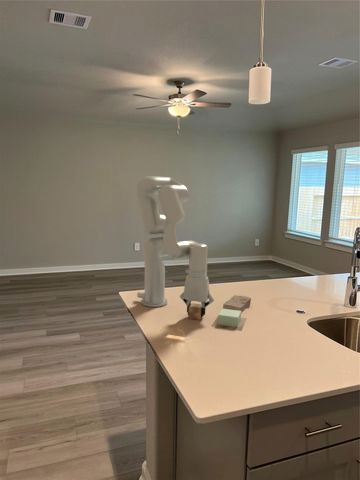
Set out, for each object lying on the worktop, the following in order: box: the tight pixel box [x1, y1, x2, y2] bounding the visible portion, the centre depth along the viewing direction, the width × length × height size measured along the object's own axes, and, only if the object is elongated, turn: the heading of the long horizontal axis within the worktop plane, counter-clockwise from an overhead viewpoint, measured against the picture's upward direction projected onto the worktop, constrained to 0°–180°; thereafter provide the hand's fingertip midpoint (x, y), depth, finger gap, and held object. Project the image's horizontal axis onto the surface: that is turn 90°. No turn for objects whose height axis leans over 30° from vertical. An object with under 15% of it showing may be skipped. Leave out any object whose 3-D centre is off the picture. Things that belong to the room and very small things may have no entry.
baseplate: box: [211, 316, 247, 332], centre depth 148 cm, size 12×14×1 cm
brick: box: [222, 294, 252, 313], centre depth 167 cm, size 17×8×5 cm, turn 152°
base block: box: [217, 308, 242, 327], centre depth 148 cm, size 8×8×4 cm
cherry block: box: [188, 302, 203, 321], centre depth 152 cm, size 5×5×5 cm
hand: (195, 314), depth 152 cm, fingers closed on cherry block, 4 cm apart
